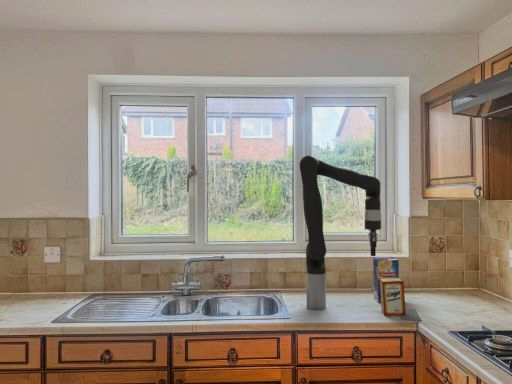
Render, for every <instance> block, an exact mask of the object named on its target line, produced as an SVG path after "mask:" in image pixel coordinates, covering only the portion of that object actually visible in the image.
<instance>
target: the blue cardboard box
mask: <svg viewBox="0 0 512 384" xmlns="http://www.w3.org/2000/svg"><path fill="white" fill-rule="evenodd" d="M372 264H373V265H372V266H373V267H372V268H373V300H374V301H375V302H377V303H378V304H381V292H380V279H390V278H399V276H400V275H399V264H400V263H399V259H397V258H395V257H373V263H372Z"/></svg>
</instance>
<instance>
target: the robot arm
mask: <svg viewBox="0 0 512 384" xmlns="http://www.w3.org/2000/svg"><path fill="white" fill-rule="evenodd" d="M299 171H300V177H301V183H302V201H303V202H302V205H303V215H304V220H305V225H306V229H307V233H308V234H307V235H308V237H307V238H308V243H307V244H306V249H305V259H306V260H305V261H306V262H305V263H306V264H305V265H306V309H309V310H312V311H313V310H314V311H316V310H317V311H319V310H320V311H322V310H325V309H326V308H327V301H326V299H327V294H326V293H327V291H326V287H327V283H326V282H327V280H326V279H327V278H326V275H327V273H326V272H327V271H326V270H327V269H326V264H325V258H326V254H327V247H326V242H325V235H324V212H323V211H324V210H323V209H324V208H323V201H322V195H321V191H320V189H319V184H318V176H321V177H326V178H329V179H332V180H335V181H337V182H339V183H341V184H345V185H348V186H350V187H355V188H359V189H362V190H365V200H364V201H365V202H364V229H365V230H366V231H367V230H369V232H368V243H369V248H370V256H371V257H376V253H377V251H376V248H377V243H378V237H379V236H378V233H377V231H379V230H381V229H382V213H381V181H380V180H379V178H377V177H375V176H371V175H368V174H363V173H361V172H357V171H354V170H351V169H348V168H343V167H339V166H336V165H332V164H329V163H326V162H324V161H323V160H320V159H318V158H317V157H315V156H312V155H306V156H302V158H301V159H300V161H299Z"/></svg>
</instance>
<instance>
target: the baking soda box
mask: <svg viewBox="0 0 512 384" xmlns="http://www.w3.org/2000/svg"><path fill="white" fill-rule="evenodd" d="M404 282H405V281H404V280H403V279H402V278H390V279H380V292H381V303H380V305H381V313H382V314H383V315H384V316H400V315H406V313H405V308H406V302H405V301H406V298H405V285H404Z"/></svg>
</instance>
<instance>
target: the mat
mask: <svg viewBox="0 0 512 384" xmlns="http://www.w3.org/2000/svg"><path fill="white" fill-rule="evenodd" d="M405 313H406V315H399V317H400V319H401V321H410V322H412V321H414V322H422V321H423V320H422V318H421V316H420V314H419V312H418V311H417V310H416V308H406V307H405Z"/></svg>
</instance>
